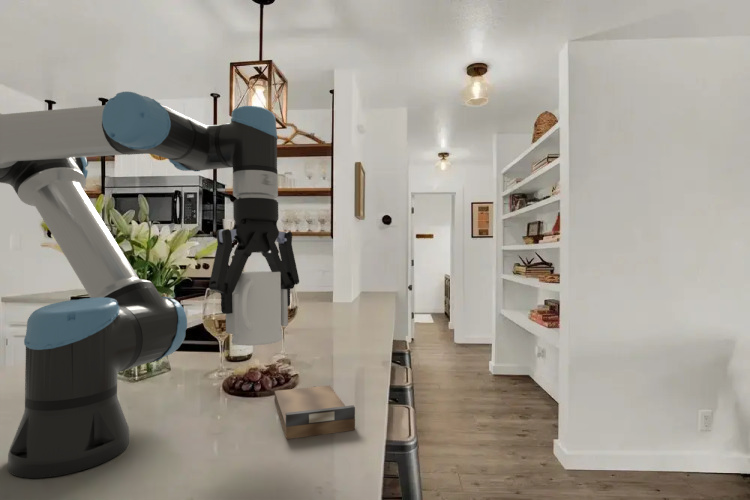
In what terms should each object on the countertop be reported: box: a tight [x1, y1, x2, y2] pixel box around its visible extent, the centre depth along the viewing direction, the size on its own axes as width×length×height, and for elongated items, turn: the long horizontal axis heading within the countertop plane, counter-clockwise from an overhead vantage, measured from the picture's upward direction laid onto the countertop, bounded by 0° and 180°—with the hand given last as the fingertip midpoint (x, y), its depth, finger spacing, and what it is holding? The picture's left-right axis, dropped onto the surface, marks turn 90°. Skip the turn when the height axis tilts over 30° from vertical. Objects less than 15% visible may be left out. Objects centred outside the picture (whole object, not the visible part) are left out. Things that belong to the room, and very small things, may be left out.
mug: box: [231, 270, 284, 346], centre depth 72 cm, size 12×8×12 cm
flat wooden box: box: [274, 385, 356, 440], centre depth 82 cm, size 12×20×4 cm, turn 19°
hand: (258, 328), depth 73 cm, fingers closed on mug, 9 cm apart
